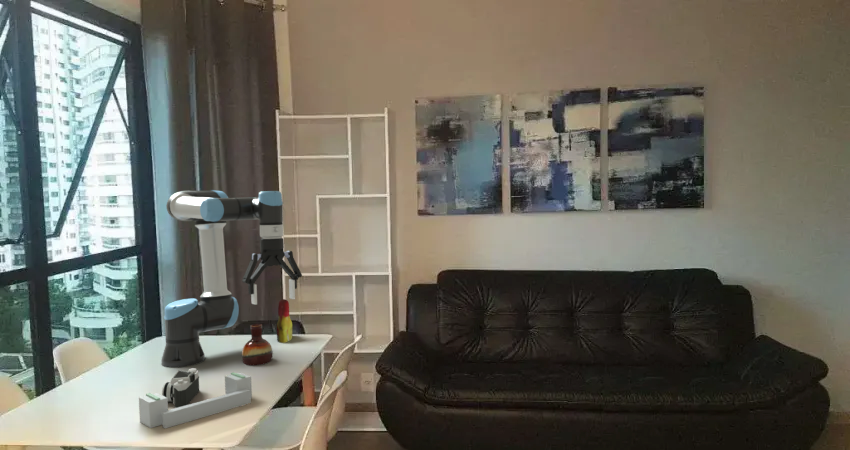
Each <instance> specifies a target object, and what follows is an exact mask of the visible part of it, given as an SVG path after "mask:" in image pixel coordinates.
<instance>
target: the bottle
mask: <svg viewBox="0 0 850 450" xmlns="http://www.w3.org/2000/svg"><path fill="white" fill-rule="evenodd" d="M277 314H278V321H277V322H276V341H277V343H280V344H285V343H288V342H289V341H291V340H292V338H293V322H292V320H291V317H290V304H289V301H288V299H285V298H282V299H280V300H279V302H278V308H277Z"/></svg>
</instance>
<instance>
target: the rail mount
mask: <svg viewBox="0 0 850 450" xmlns="http://www.w3.org/2000/svg"><path fill="white" fill-rule="evenodd" d="M224 384H225V385H224V387H225V388H224V389H225V394H223V395H220V396H215V397H212V398H207V399H204V400H201V401H197V402H193V403H189V404H188V405H186V406H182V407H178V408H175V407H174V408H172V409H169V404H168V403H169V402H168V398H167V397H164V396H162V394H160V393H158V392H155V393H151V392H148V393H145V395H143V396H138V407H139V412H138V413H139V423H141V424H143V425H144V426H146V427H148V428H149V429H152V428H155V427H158V426H162V428H163V429H168V428H171V427H175V426H179V425H181V424H185V423H188V422H191V421H195V420H199V419H201V418H205V417H209V416H212V415H215V414H218V413H221V412H222V413H223V412H225V411H229V410H232V409H235V408H240V407H243V406H246V405H245V404H247V405H249V404H248V403H250V404H251V403H252V402H251V401H252V400H251V399H252V398H253V389H252V387H253V386H252V375H249V374H245V373H243V372H234V371H233V372H230V374H228V375H224ZM242 405H243V406H242ZM239 406H240V407H239Z"/></svg>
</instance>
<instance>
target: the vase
mask: <svg viewBox="0 0 850 450" xmlns="http://www.w3.org/2000/svg"><path fill="white" fill-rule="evenodd" d="M262 333H263V324H262V323H253V324H251V325H250V335H251V338H250V340H247V342H246V343H245V344H244V346H243V347H242V351H241V360H242V362H243V364H244V365H246V366H261V365H265V364H268V363H271V362H272V359H273V355H274V353H273V352H274V350H273V347H272V345H271V344H270V342H269V341H268V340H267V339H265V338H264V337H263V334H262Z"/></svg>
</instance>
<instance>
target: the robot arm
mask: <svg viewBox="0 0 850 450" xmlns="http://www.w3.org/2000/svg"><path fill="white" fill-rule="evenodd" d="M283 204H284V202H283V194H282V192H281V191H279V190H267V191H266V190H265V191H264V190H263V191H262V190H261V191H259V192H258V196H257V197H256V196H253V197H251V196H249V197H229V196H228V195H227V193H226V192H224V191H222V190H215V189H209V190H181V191H177V192H175V193H173V194H172V195H171V196H169V198H168V200H167V202H166V210H167V213H168V215H169V216H170V217H172V218H173V219H175V220H177V221H181V222H194V227H195V228H196V229H198V231H199V237H200V238H199V240H200V255H201V267H202V268H201V269H202V282H203V283H202V284H203V292H202V294H201V295H200V296H199V297H200V298H199V300H198V299H197V298H193V297H192V298H183V299H178V300H175V301H173V302H170V303H168V304H167V305H165V307H164V316H163V319H164V332H165V333H164V334H165V346H164V349H163V353H162V356H161V359H160V360H161V361H160V363H161V366H162V367H165V368H174V369H175V368H186V367H191V366H194V365H195V366H196V365H198V364H201V363H203V362H204V361H205V359H206V355H205V353H204V352H205V351H204V350H203V347H202V345H201V342H200V333H205V332H209V331H210V332H211V331H216V330H224V329H226V328H230V327H233V326H234V325H235V324H236V322H237V321H238V318H239V313H240V312H239V303H238V300H237V298H235V297H234V296H232V292H231V291H229V290H228V284H227V269H226V256H225V241H224V227H225V226H226V225H227V221H248V220H249V221H251V220H254V221H255V220H258V221H259V237H260V240H259V249H260V253H254V252H253V253H251V254H250V260H249V264H248V266H247V268H246V271H245V273H244V275H243V277H242V280H241V281H242V283H244V284H247V287H248V294H249V295H250V296H251V297H250V299H251V302H250V303H251V304H252V305H258V290H257V289H258V288H257V286H258V285H257V284H256V282H257V280H258V279H259V278H260V276H261V274H262V273H263V272H264V270H265V269H266V268H267V267H273V266H277V267H278V266H280V268H281V269H282V270H283V271H284V272H285V273H286V275H288V277H289V279H288V293H289V294H288V296H289V299H290V300H296V290H297V289H298V282H297V281H298V280H299V278H302V277H303V274H302V272H301V270H300V268H299V266H298V264H297V262H296V260H295V257H294V253H293V251H292V250H286V251H284V245H285V243H284V238H282V237H283V236H284V224H283V223H284V219H283V218H284V214H283V213H284V211H283V210H284V208H283ZM284 258H286V259H287V262H288V263H289V265H290V267H289V266H288V264H287V263H286V262H285V261H284ZM259 260H261V261H260V263H259V264H258V266H257V263H258V261H259ZM256 266H257V268H256ZM255 268H256V269H255ZM254 270H255V271H254Z"/></svg>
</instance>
